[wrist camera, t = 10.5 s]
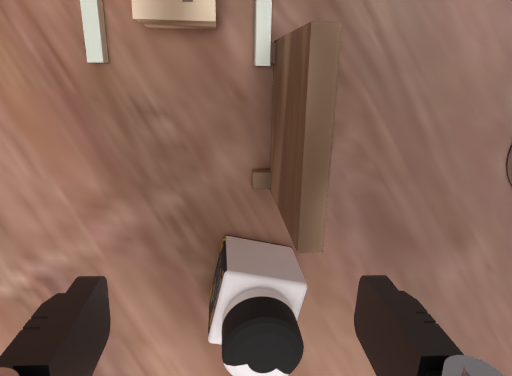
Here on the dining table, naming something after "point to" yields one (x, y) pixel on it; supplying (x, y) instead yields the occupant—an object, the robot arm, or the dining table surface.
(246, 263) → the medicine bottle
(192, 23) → the letter cube
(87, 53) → the bay
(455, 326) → the dining table surface
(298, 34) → the screen
